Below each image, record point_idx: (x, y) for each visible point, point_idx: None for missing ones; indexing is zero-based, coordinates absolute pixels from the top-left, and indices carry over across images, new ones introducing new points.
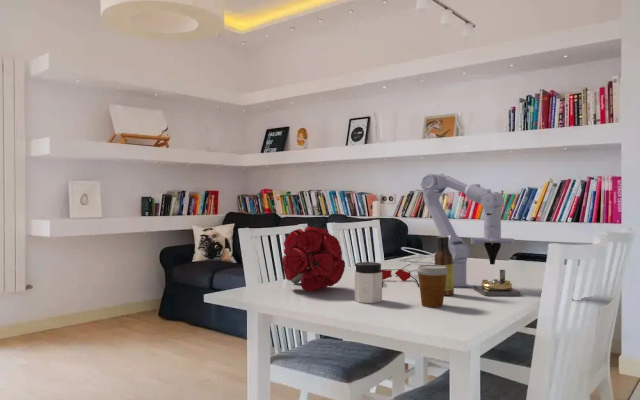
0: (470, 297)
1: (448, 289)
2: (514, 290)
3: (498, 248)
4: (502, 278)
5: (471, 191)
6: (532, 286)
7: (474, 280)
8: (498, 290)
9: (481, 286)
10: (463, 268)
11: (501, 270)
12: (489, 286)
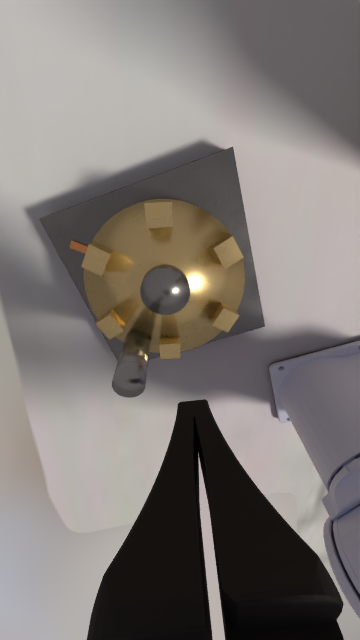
0: (316, 68)
1: None
2: (73, 241)
3: (132, 555)
4: (134, 342)
5: None
6: (47, 436)
7: None
8: None
9: None
10: (336, 426)
11: (134, 372)
12: (205, 212)
